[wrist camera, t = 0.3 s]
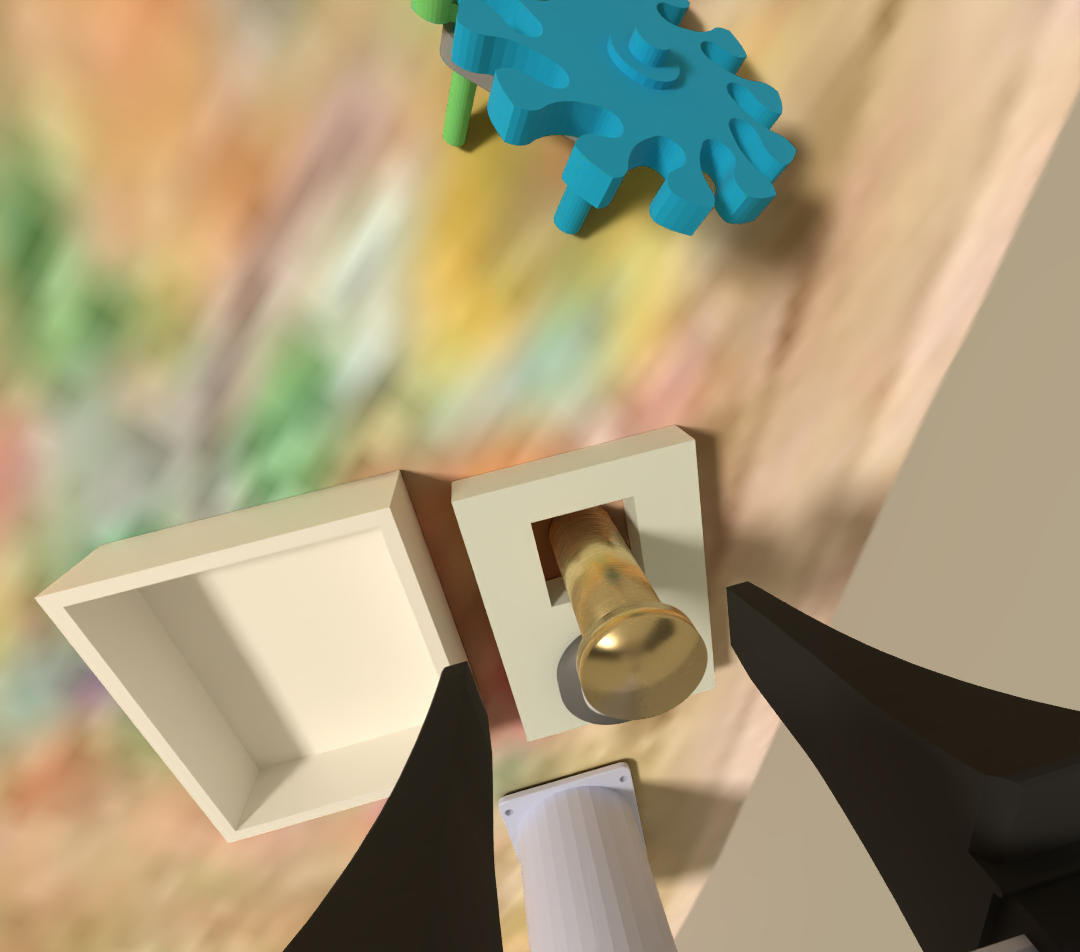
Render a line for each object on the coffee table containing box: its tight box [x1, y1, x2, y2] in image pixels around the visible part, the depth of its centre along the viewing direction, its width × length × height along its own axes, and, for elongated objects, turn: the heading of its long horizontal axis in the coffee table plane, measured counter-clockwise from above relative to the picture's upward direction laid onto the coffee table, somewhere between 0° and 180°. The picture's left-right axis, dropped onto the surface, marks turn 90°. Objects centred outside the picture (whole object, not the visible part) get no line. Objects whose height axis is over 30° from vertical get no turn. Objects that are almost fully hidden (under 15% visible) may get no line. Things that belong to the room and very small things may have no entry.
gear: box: [411, 0, 797, 236], centre depth 15 cm, size 11×6×10 cm
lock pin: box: [549, 505, 708, 720], centre depth 19 cm, size 4×4×9 cm
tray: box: [35, 470, 485, 843], centre depth 22 cm, size 14×12×4 cm
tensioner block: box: [451, 425, 716, 742], centre depth 23 cm, size 14×10×4 cm
